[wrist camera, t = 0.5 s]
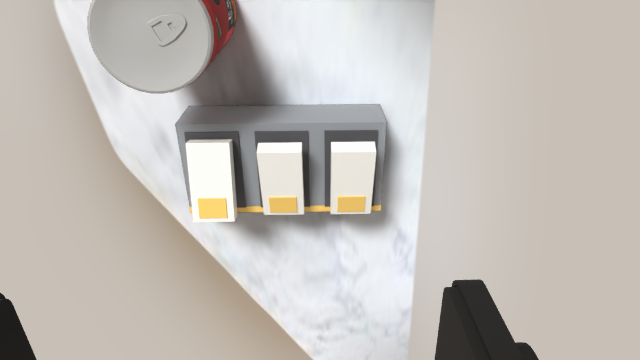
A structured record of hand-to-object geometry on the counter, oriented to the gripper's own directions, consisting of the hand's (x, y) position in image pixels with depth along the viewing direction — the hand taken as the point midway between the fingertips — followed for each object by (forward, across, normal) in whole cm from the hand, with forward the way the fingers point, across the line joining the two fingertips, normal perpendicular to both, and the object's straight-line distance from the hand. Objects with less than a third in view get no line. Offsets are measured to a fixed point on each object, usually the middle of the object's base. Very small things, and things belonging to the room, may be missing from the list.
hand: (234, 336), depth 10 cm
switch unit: (+34, +1, +10) cm, 35 cm away
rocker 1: (+27, +7, +10) cm, 30 cm away
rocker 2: (+27, +1, +10) cm, 29 cm away
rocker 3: (+27, -5, +10) cm, 29 cm away
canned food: (+34, +9, -4) cm, 35 cm away
